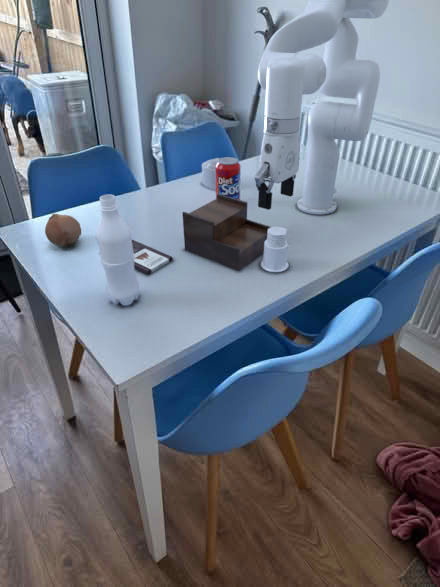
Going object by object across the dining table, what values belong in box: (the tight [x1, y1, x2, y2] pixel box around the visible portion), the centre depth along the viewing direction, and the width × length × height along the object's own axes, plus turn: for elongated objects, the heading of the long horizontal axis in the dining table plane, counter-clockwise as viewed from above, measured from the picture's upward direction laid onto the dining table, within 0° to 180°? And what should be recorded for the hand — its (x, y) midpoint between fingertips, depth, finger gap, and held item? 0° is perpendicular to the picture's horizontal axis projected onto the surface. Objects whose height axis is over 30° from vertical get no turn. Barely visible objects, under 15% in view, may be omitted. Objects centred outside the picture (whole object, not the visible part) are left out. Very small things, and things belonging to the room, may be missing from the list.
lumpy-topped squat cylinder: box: [201, 157, 221, 191], centre depth 152 cm, size 10×13×9 cm
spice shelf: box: [181, 194, 272, 272], centre depth 113 cm, size 15×18×11 cm
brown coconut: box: [44, 213, 82, 248], centre depth 117 cm, size 10×9×10 cm
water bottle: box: [95, 193, 140, 307], centre depth 91 cm, size 7×7×25 cm
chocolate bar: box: [132, 239, 173, 276], centre depth 113 cm, size 9×1×18 cm
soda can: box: [215, 156, 242, 200], centre depth 135 cm, size 8×8×15 cm
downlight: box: [260, 226, 289, 273], centre depth 106 cm, size 8×7×10 cm
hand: (275, 201), depth 99 cm, fingers open, 9 cm apart
